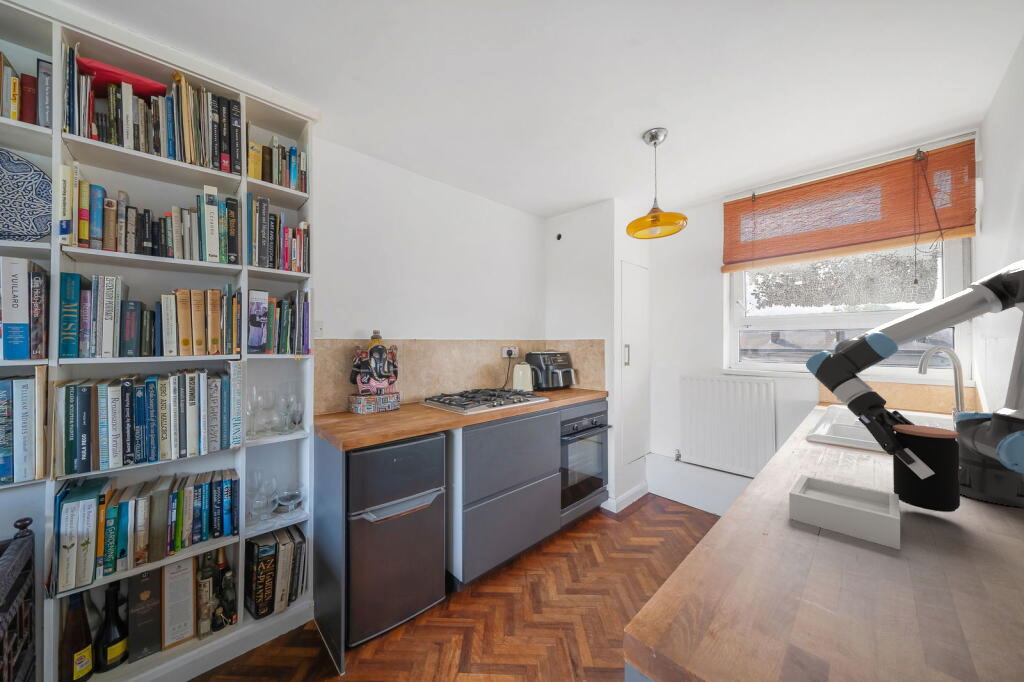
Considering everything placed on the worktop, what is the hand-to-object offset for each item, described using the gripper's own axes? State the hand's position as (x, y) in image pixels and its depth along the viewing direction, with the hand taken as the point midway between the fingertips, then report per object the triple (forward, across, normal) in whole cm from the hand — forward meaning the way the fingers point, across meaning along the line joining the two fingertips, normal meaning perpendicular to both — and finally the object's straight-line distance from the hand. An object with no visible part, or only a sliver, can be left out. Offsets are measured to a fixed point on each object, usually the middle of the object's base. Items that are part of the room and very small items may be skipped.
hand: (942, 473), depth 86 cm
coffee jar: (+4, 0, -8) cm, 9 cm away
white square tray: (+2, +22, -14) cm, 26 cm away
